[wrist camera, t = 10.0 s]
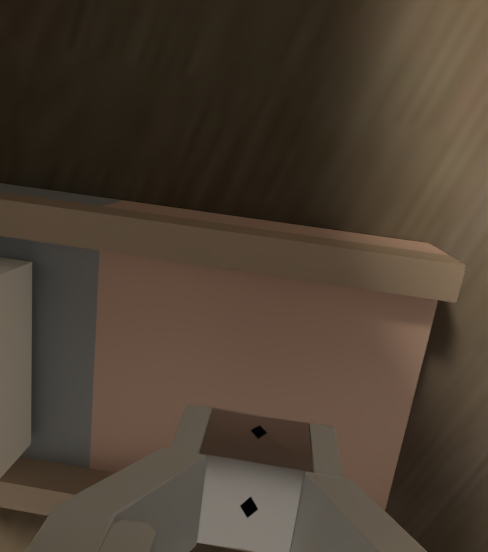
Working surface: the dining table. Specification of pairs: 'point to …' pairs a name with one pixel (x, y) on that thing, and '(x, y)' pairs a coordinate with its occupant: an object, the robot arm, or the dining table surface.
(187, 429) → the robot arm
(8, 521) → the dining table surface
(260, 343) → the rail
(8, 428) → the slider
